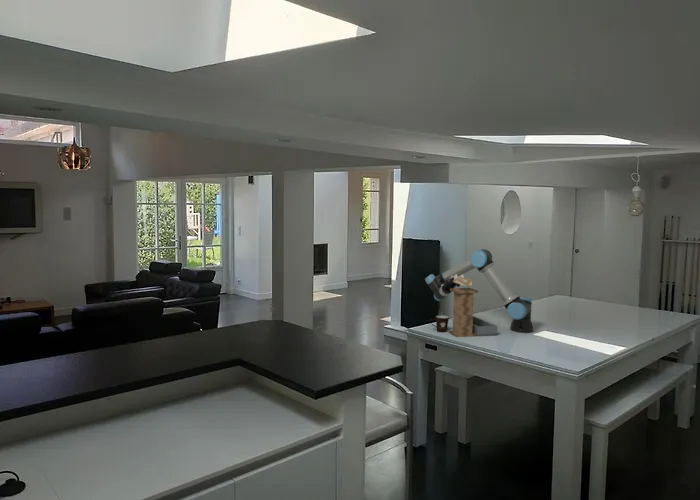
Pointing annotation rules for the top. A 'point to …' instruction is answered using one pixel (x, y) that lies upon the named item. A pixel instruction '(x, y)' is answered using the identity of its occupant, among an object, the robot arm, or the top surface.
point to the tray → (483, 327)
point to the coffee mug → (441, 323)
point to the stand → (463, 312)
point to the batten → (463, 281)
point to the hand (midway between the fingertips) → (459, 276)
